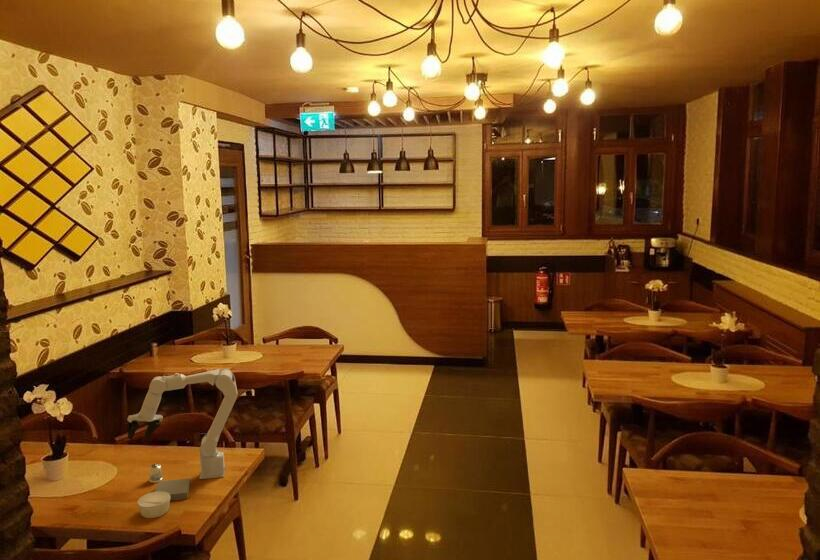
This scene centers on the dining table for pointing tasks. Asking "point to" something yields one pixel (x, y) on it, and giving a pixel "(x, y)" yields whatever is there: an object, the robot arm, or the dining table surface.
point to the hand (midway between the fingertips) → (138, 437)
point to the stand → (175, 488)
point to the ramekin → (154, 504)
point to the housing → (155, 473)
